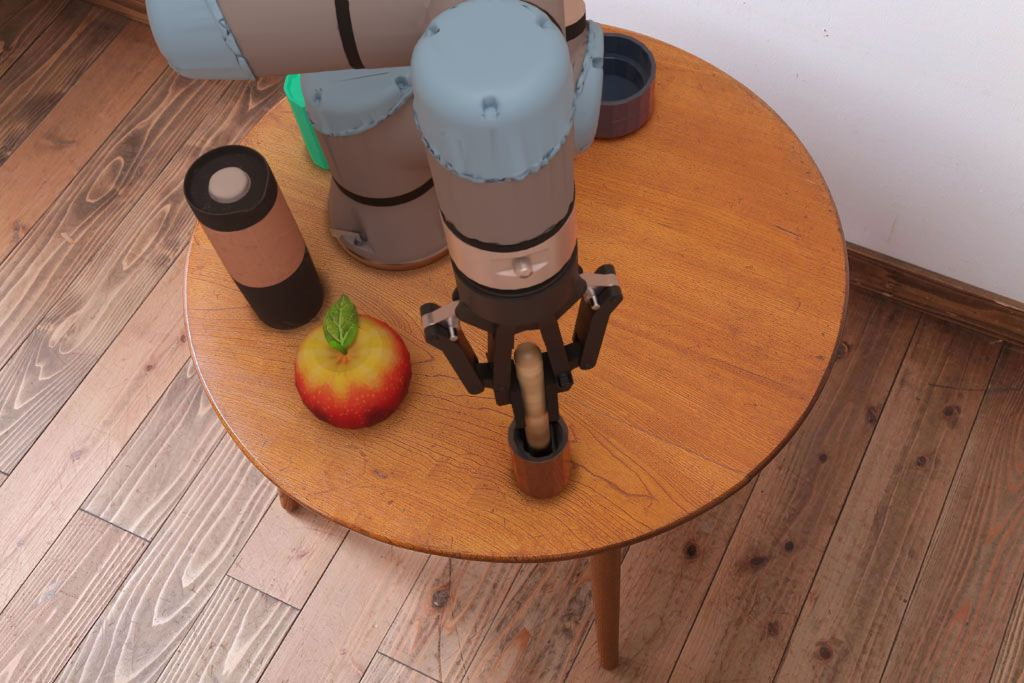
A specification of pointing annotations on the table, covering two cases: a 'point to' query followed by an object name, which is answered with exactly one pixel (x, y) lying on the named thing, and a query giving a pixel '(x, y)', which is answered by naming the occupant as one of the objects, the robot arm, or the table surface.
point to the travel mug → (254, 234)
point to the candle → (303, 119)
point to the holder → (541, 462)
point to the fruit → (352, 368)
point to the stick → (533, 398)
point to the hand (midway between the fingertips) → (534, 408)
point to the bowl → (625, 85)
